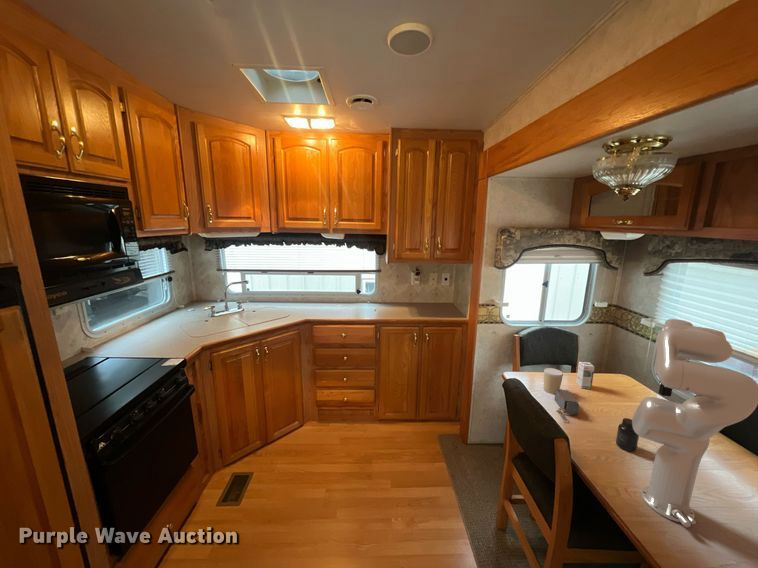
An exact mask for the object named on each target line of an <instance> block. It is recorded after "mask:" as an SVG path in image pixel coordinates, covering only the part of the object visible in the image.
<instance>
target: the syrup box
mask: <svg viewBox="0 0 758 568" xmlns="http://www.w3.org/2000/svg"><path fill="white" fill-rule="evenodd" d="M577 366H578V367H577V373H576V374H577V375H576V381H575V382H576V383H577V384H578V385H579V386H580V387H581V388H580V387H579V386H578V385H577V384H576V385H577V386H578V387H579V388H580V389H585V388H587V390H589V389H590V390H591V389H593V388H592V387H593V381H594V373H595V365H593V364H592V363H591V362H589V361H588V362H587V361H578V365H577Z"/></svg>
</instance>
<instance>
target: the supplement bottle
mask: <svg viewBox="0 0 758 568" xmlns="http://www.w3.org/2000/svg"><path fill="white" fill-rule="evenodd" d="M639 439H640V436H639V435H637V434H636V433H635V431H634V429H633V427H632V419H631V418H628V417H624V418H623V419H622V422H621V423H619V424H618V428H617V433H616V438H615V445H616V446H617V447H619V448H620V449H622V450H623V451H626V452H630V453H634V452H637V449H638V443H639Z"/></svg>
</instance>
